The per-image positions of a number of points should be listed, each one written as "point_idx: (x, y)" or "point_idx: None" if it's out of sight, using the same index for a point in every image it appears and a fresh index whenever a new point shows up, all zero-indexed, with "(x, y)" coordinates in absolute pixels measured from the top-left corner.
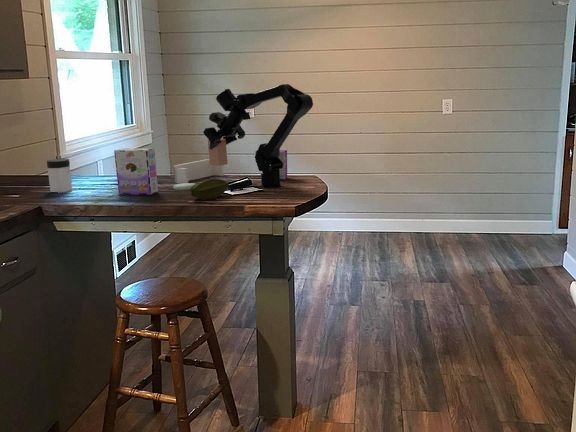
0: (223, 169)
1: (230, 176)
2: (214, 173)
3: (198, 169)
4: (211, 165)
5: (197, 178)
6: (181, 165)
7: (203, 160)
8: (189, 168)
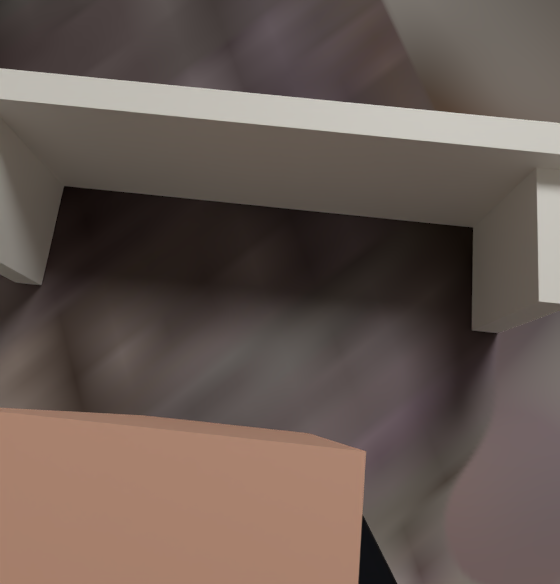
0: (519, 321)
1: (487, 419)
2: (479, 232)
3: (294, 172)
4: (490, 185)
5: (272, 206)
6: (35, 108)
7: (393, 135)
8: (165, 146)
